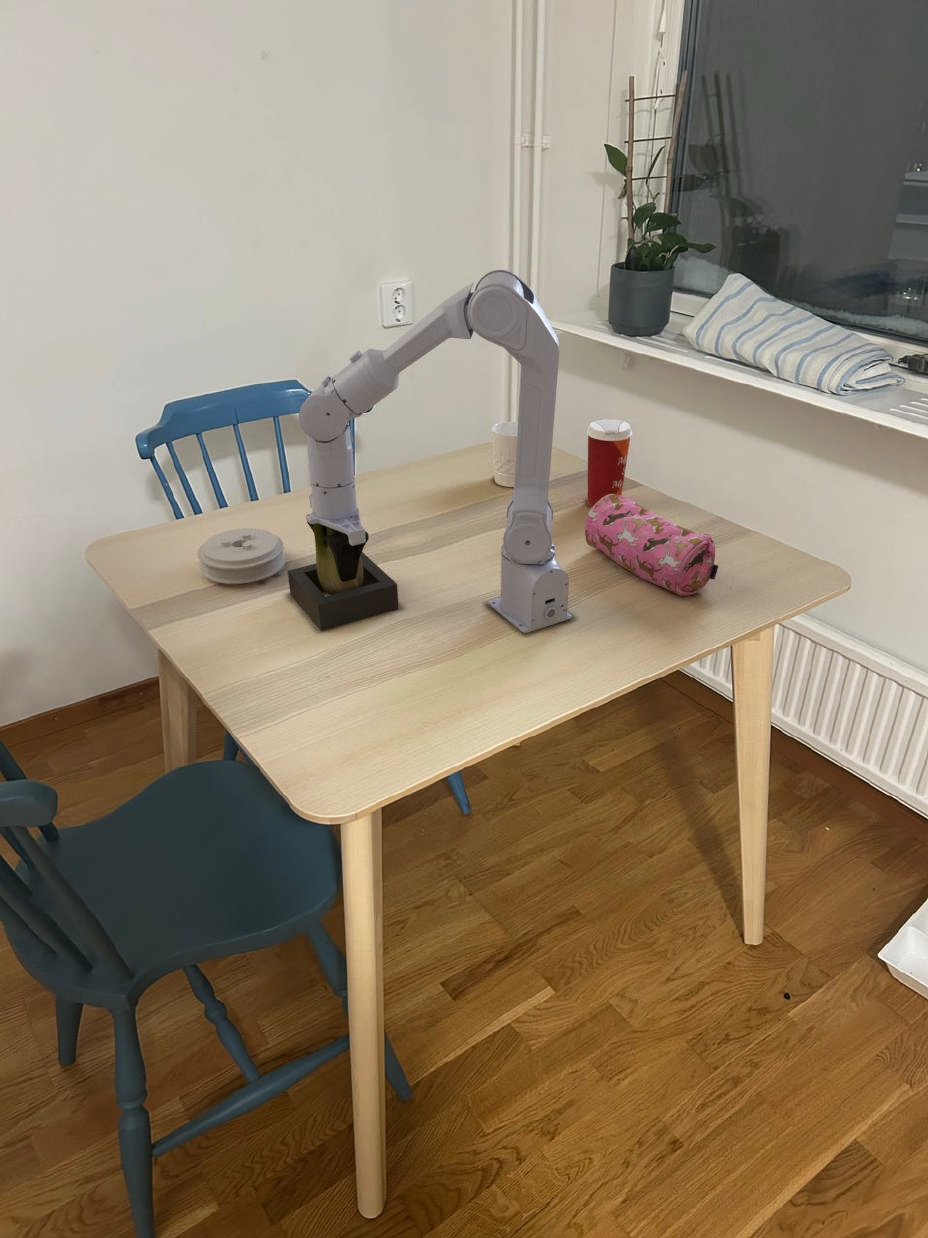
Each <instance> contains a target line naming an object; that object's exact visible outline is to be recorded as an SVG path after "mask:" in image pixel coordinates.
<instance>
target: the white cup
mask: <svg viewBox="0 0 928 1238" xmlns="http://www.w3.org/2000/svg"><path fill="white" fill-rule="evenodd" d="M517 429H518V421H502V422H498V423H495V424H494V425H492V426H491V444H492V445H491V451H492V452H491V453H492V464H493V465H492V467H493V477H494V478H493V479H494V482H495V483H496V484H497V485H499V486H501V487H506V488H514V481H515V464H516V447H517Z"/></svg>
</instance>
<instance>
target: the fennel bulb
mask: <svg viewBox="0 0 928 1238" xmlns="http://www.w3.org/2000/svg"><path fill="white" fill-rule="evenodd" d="M326 528H327V536H328V535H332V534H336V530H335V529H332V528H329V527H327V526H326ZM313 529H314V532H313V535H314V536H313V537H314V543H315V545H314V546H315V562H316V563H315V564H316V568H317V574H318V579H319V582H320V584H321V586H322V587H323V589H324V591H325V592H324V593H325V594H326V595H328V596H330V595H333V594H337V593H341V592H345V591H348V590H352V589H356V588H359V587H361V586H362V583H363V566H362V561H361V557H360V560H359V565H358V570H357V575H356V579H353V580H349V581H345V582H342V581H341V580H340V578H339V575H338V572H337V567H336V563H335V559H334V556H333V553H332V551H331V549H330V547H329V545H328V543H327V544H325V539H324V532H323V527H322V524H319V523H316V524H313Z"/></svg>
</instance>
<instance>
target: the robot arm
mask: <svg viewBox="0 0 928 1238" xmlns="http://www.w3.org/2000/svg"><path fill="white" fill-rule="evenodd" d="M474 284H475V282H471V283H469V284H467V285H466V286H465V287H463V288H461V289H460V290H458V291H456V292H455V293H454V294H452V295H451V296H449V297H448V298H446V299H445V300H443V301H442V302H441V303H440V304H439V305H437V306H436V307H435V308H433V309H432V310H431V311H430V312H428V313H427V314H426V315H425V316H424V317H422V319H420V320H419V321H418V322H417V323H416V324H414V325H413V326H412V327H410V329H408V330H407V331H406V332H405V333H404V334H402V335H401V336H400V337H399V338H398V339H396V340H395V341H394V342H393V343H392V344H391V345H389V346H388V347H387V348H386V349H376V348H368V349H366V350H365V351H363V352H362V351H360V350H357V351H356V352H354V353H353V354H352V355H351V356H350V357H349V361H350V363H349V364H347V365H345V367H344V368H342V369H341V370H339V371H338V372H337V373H336V374H334V375H333V376H332V377H331V376H330V375H327V376H326V377H325V378H323V379H322V380H321V385H319V386H317V387H316V388H315V389H314V390H313V391H312V392H311V393H310V394H309V396H308V397H307V398H306V399H305V400H304V402H303V403H302V405H301V407H300V409H299V412H298V422H299V425H300V427H301V429H302V431H303V432H304V433H305V435H306V441H307V443H306V444H307V459H308V468H309V478H310V479H309V480H310V486H311V487H310V488H311V493H310V494H308V501H309V508H311V510H312V511H311V513H307V514H305V520H306V523H307V526H309V528H310V529H311V530H312V532H313V533H314V529H313V524H316V523H319V524H322V527H323V532H324V539H325V544H327V543H328V545H329V547H330V549H331V551H332V553H333V556H334V559H335V563H336V567H337V572H338V575H339V578H340V580H341V581H342V582H345V581H349V580H353V579H356V575H357V570H358V565H359V560H360V556H361V553H362V552H363V550H364V548H365V546H366V544H367V542H368V540H369V537H370V535H369V532H367V531H366V529H365V528H364V527H363V525H362V521H361V516H360V510H359V507H358V505H357V504H358V503H357V491H356V478H355V467H354V466H355V464H354V453H353V452H354V451H353V444H352V439H351V426H350V424H349V423H350V422H351V420H352V419H356V418H360V417H361V416H362V415H364V414H365V413H367V411H369V410H370V409H372V408H373V407H374V406H375V405H377V404H378V403H380V402H381V401H382V400H383V399H385V398H386V397H387V396H389V395H390V394H392V393H393V392H394V391H395V390H397V389H398V387H399V381H400V379H399V378H400V373H401V372H402V371H404V370H406V369H407V368H408V367H410V366H411V365H413V364H414V363H415V362H418V360H420V359H421V358H423V357H424V356H426V355H427V354H428V353H430V352H431V351H433V350H434V349H436V348H437V347H438V346H440V345H441V344H443V343H444V342H445V341H447V340H448V339H462V340H471V339H472V337H473V335H474V333H475V334H476V335H478V337H480V338H482V339H483V340H485V341H487V342H490V343H492V344H493V345H496V346H499V347H501V348H503V349H504V350H505V351H506V352H508V354H510V355H511V356H512V357H513V358H514V359H515V360H516V361H517V362H518V363H519V364H520V376H519V377H520V379H519V398H518V413H517V414H518V415H517V422H518V429H517V447H516V464H515V481H514V487H513V497H512V499H511V500H510V503H508V506H507V508H506V509H507V510H506V524H505V531H504V533H503V537H502V545H501V547H500V551H501V552H500V556H501V557H500V596H499V597H496V598H493V599H490V600H488V601H487V604H488V606H490V607H491V608H492V609H494V610H495V611H496V612H497V613H498V614H499V615H501V616H502V617H503V618H504V619H506V620H507V621H508V622H509V623H510V624H512V625H513V626H514V627H515V628H516V629H518V630H519V631H520V632H521V633H523V634H527V633H531V632H535V631H537V630H539V629H543V628H545V627H549V626H552V625H555V624H558V623H562V622H565V621H568V620H571V619H572V618H573V614H571V613H570V612H569V611H568V602H569V601H568V600H569V587H570V586H569V585H570V584H569V583H570V581H569V577H568V574H567V573H566V571H565V570H564V569H563V568H562V567H561V566H560V564H559V562H558V560H557V556H556V546H555V544H554V543H553V535H552V531H553V519H554V509H553V507H552V503H551V502H550V500H549V492H550V491H549V490H550V489H549V488H550V477H551V476H550V475H551V464H552V450H553V439H554V426H555V414H556V413H555V412H556V400H557V388H558V374H559V362H560V341H559V338H558V336H557V334H556V332H555V331H554V329H553V327H552V325H551V323H550V321H549V319H548V318H547V315H546V314H545V312H544V310H543V309H542V307H541V305H540V303H539V301H538V298H537V296H536V294H535V291H534V290H533V288H531V287H530V285H528V284H527V283H526V282H525V281H524V280H522V279H521V278H520V277H519V276H518V275H517V274H515V273H514V272H512V271H509V270H507V269H494V270H491V271H489V272H486V273H485V274H484V275H482V276H481V278H480V279H479V280H478V281H477V283H476V286H475V288H474V291H472V289H473V286H474ZM326 526H327V527H329V528H332V529H335V530H336V534H332V535H328V536H327V528H326Z"/></svg>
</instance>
